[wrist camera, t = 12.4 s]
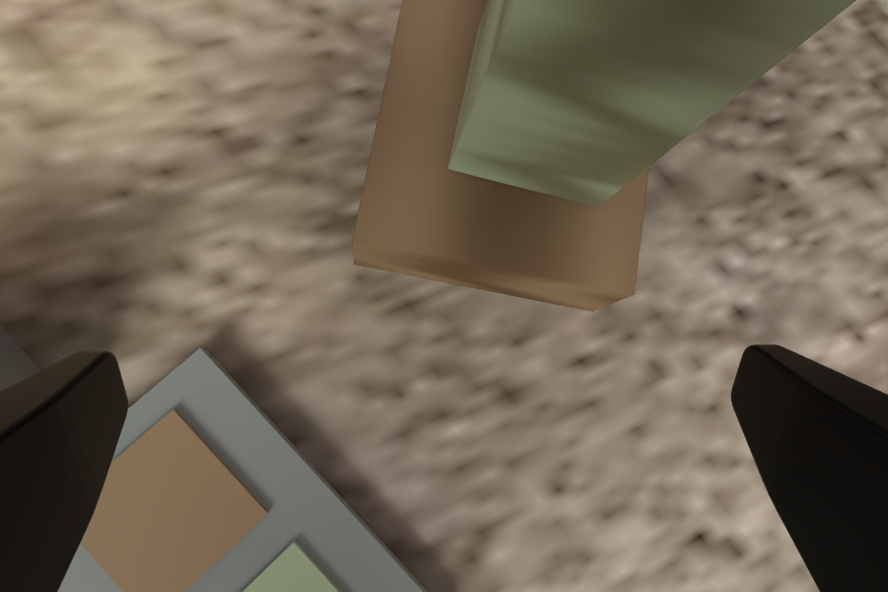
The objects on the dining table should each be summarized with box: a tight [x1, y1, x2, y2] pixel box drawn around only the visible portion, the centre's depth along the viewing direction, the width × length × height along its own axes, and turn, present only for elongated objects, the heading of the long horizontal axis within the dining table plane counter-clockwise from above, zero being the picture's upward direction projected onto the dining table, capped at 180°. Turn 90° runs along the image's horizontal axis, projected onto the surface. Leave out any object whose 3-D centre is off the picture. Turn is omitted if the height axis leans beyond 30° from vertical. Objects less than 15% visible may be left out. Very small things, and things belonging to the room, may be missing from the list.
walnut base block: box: [353, 0, 649, 311], centre depth 22 cm, size 9×9×4 cm
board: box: [58, 348, 428, 592], centre depth 19 cm, size 12×8×1 cm, turn 43°
